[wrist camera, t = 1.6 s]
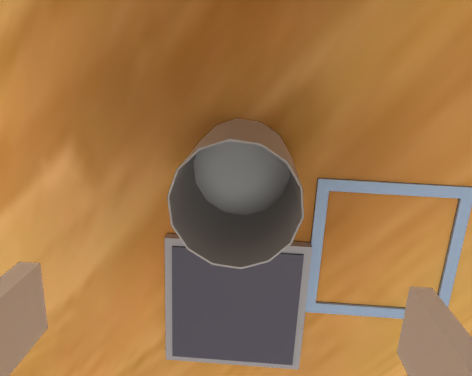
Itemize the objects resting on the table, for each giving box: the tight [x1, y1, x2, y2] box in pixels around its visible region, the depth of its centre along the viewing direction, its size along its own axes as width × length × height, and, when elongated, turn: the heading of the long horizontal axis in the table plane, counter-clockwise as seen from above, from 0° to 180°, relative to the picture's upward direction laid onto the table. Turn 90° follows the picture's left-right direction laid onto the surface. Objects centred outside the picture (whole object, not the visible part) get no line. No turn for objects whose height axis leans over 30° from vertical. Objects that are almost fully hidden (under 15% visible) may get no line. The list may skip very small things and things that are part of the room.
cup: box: [167, 118, 304, 269], centre depth 29 cm, size 8×8×10 cm
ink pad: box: [165, 233, 312, 370], centre depth 37 cm, size 13×13×1 cm
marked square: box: [305, 178, 472, 319], centre depth 35 cm, size 13×13×1 cm
